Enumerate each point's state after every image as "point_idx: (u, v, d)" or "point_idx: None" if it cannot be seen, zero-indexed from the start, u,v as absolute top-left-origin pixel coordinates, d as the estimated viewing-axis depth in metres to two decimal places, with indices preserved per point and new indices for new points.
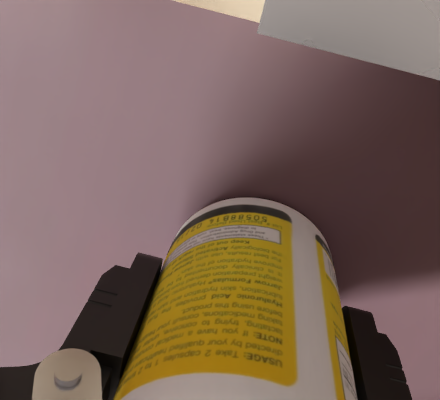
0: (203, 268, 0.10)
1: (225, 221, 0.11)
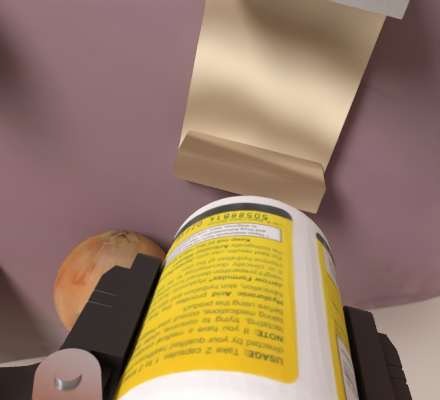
0: (203, 266, 0.10)
1: (225, 220, 0.11)
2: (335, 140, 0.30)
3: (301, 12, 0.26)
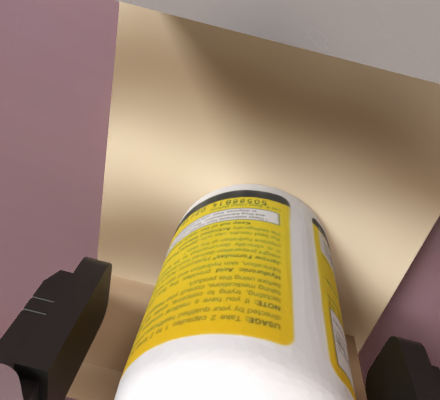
0: (207, 246, 0.11)
1: (227, 205, 0.12)
2: (384, 303, 0.15)
3: (324, 72, 0.12)
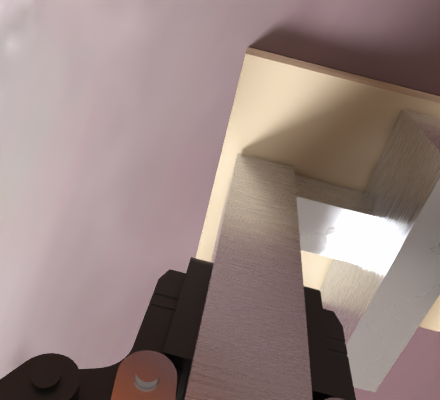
0: None
1: None
2: None
3: None
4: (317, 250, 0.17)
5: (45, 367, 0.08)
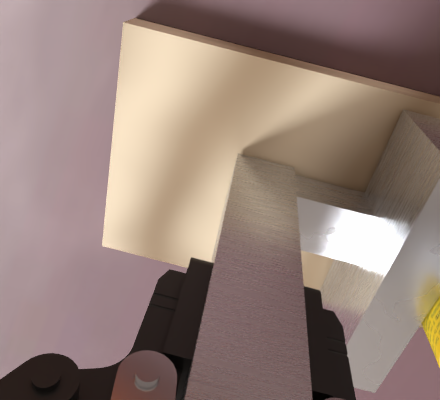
0: None
1: None
2: None
3: None
4: (317, 250, 0.17)
5: (45, 367, 0.08)
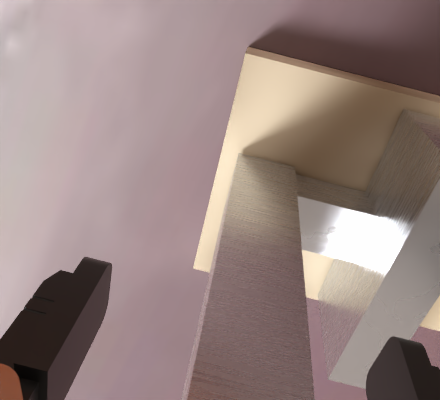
0: None
1: None
2: None
3: None
4: (318, 249, 0.17)
5: None
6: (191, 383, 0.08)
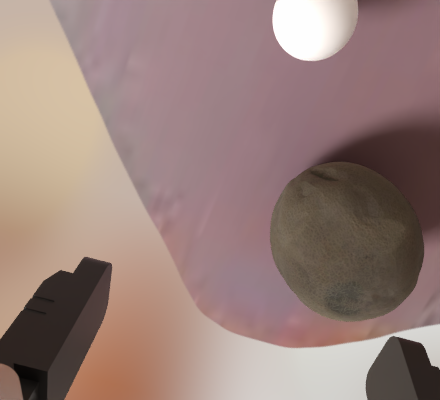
0: None
1: None
2: None
3: None
4: None
5: None
6: None
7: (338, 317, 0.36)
